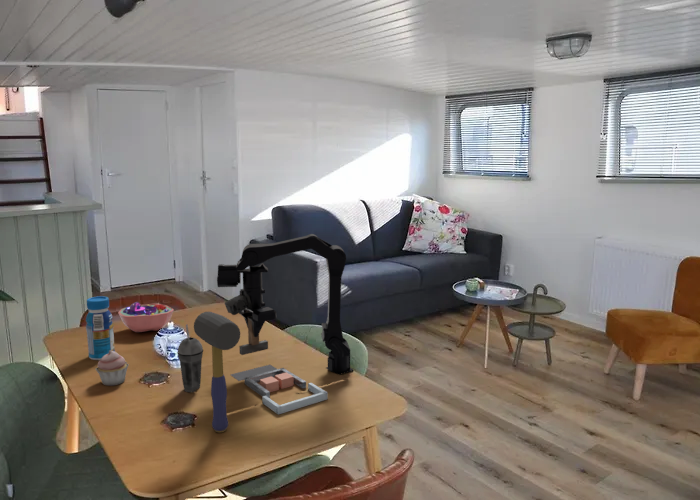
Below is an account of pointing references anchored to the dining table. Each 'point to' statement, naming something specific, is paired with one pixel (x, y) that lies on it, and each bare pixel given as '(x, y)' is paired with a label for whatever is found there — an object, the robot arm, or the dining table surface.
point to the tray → (299, 403)
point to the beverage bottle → (99, 327)
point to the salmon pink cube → (285, 380)
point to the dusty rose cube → (270, 384)
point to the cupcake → (112, 368)
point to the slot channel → (253, 380)
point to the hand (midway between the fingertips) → (253, 335)
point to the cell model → (145, 316)
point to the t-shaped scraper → (253, 342)
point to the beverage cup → (190, 362)
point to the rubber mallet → (217, 359)
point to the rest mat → (252, 372)
